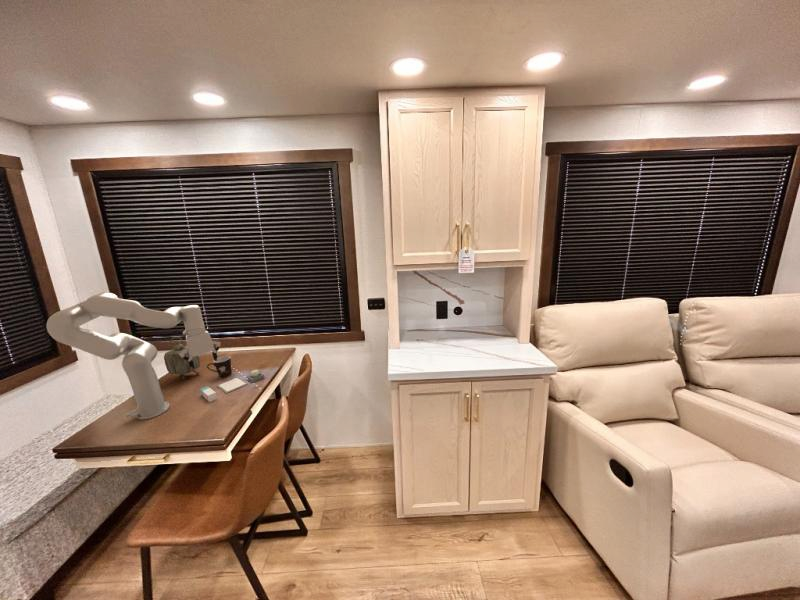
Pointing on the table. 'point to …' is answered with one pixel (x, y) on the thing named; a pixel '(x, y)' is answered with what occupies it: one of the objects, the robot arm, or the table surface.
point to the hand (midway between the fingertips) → (204, 363)
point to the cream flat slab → (232, 385)
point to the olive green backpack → (179, 360)
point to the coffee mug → (222, 366)
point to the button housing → (255, 377)
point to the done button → (254, 373)
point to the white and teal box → (208, 394)
